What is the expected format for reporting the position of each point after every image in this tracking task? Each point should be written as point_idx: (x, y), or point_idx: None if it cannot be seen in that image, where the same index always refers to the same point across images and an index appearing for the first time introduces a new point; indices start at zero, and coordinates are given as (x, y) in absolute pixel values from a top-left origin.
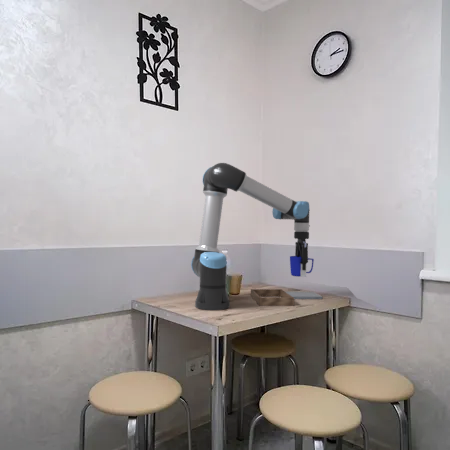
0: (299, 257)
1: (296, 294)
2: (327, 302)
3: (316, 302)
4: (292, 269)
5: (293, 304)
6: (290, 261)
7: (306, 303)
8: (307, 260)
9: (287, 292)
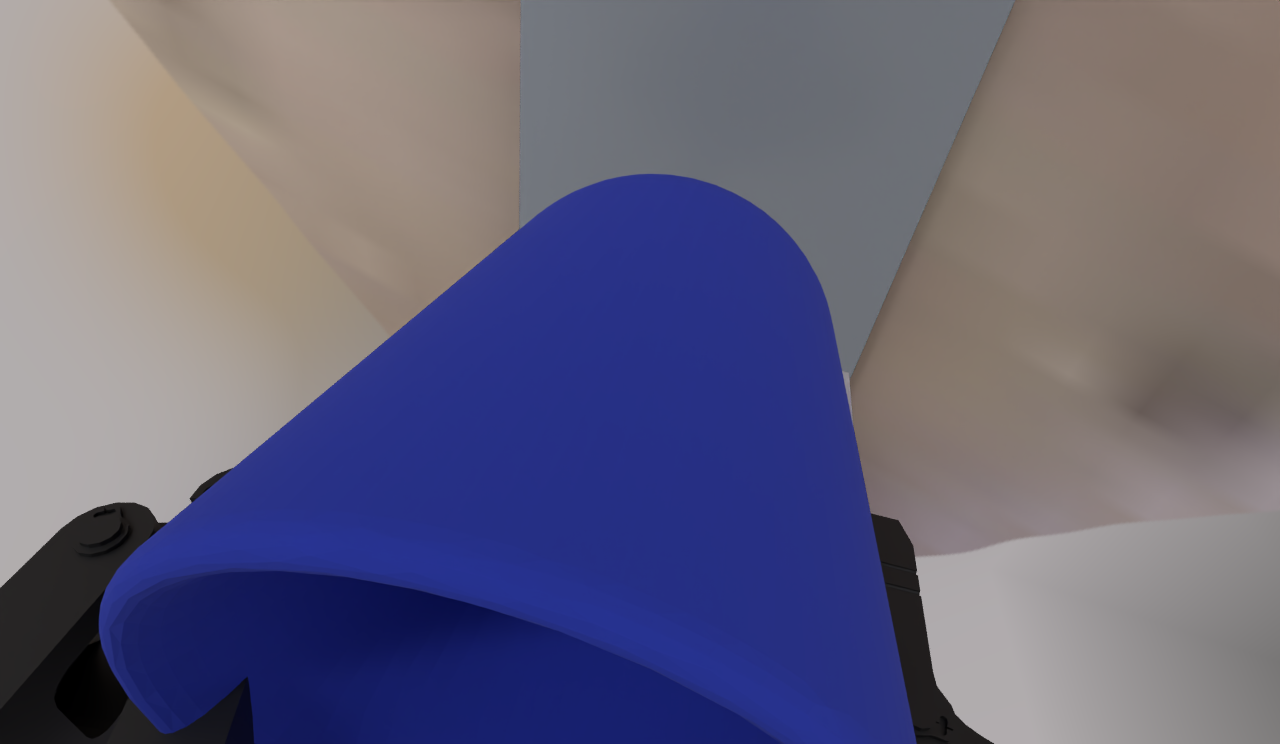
0: (118, 677)
1: (681, 134)
2: (366, 304)
3: (348, 197)
4: (552, 221)
5: None
6: (566, 356)
7: (266, 42)
8: (93, 645)
9: (889, 62)
